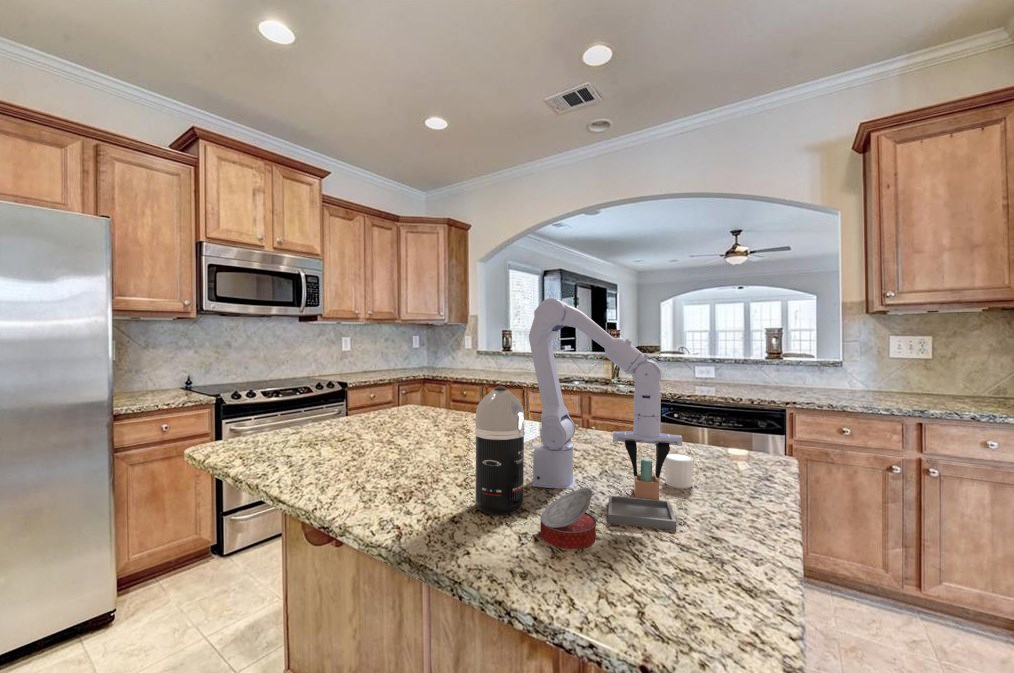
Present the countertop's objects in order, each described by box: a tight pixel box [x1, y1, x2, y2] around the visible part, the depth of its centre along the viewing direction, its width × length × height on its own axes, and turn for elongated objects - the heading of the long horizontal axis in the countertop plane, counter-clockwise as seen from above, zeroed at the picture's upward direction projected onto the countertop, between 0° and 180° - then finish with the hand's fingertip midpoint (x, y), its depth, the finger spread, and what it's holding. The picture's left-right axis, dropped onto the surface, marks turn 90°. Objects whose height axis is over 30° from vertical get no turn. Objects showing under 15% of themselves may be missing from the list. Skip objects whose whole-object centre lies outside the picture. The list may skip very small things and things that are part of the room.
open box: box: [633, 473, 660, 500], centre depth 96 cm, size 5×5×4 cm
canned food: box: [539, 487, 597, 550], centre depth 77 cm, size 11×10×10 cm
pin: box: [640, 458, 653, 482], centre depth 96 cm, size 2×2×8 cm
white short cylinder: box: [663, 452, 695, 489], centre depth 102 cm, size 7×7×7 cm
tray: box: [607, 495, 677, 531], centre depth 84 cm, size 12×10×2 cm
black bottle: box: [474, 385, 526, 516], centre depth 89 cm, size 10×10×25 cm
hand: (646, 475), depth 96 cm, fingers open, 4 cm apart
